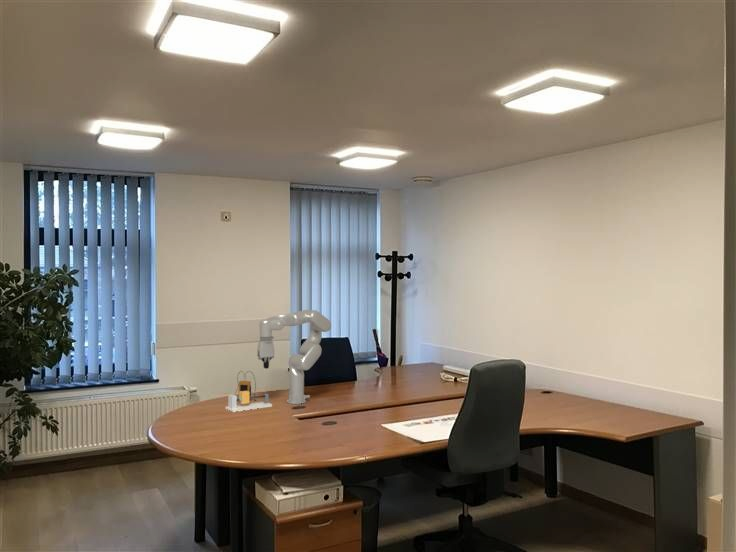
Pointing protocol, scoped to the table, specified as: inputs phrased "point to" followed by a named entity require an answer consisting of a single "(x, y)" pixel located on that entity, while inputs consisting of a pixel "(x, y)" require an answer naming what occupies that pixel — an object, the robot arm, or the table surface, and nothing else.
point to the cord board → (234, 407)
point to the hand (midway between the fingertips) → (266, 368)
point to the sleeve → (244, 396)
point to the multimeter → (245, 386)
